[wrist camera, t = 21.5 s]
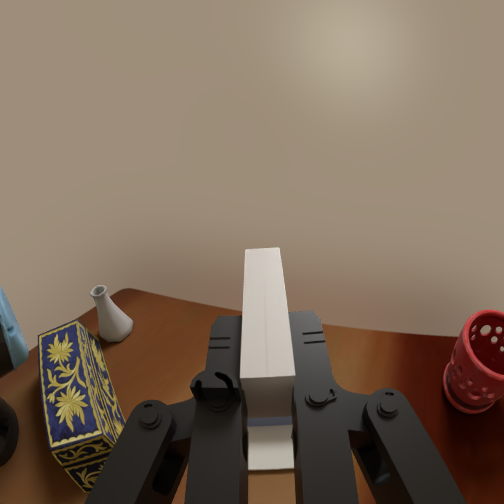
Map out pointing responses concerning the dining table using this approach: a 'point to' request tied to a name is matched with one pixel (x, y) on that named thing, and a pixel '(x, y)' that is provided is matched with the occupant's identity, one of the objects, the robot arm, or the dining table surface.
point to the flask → (110, 317)
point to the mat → (270, 447)
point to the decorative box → (77, 401)
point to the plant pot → (476, 365)
